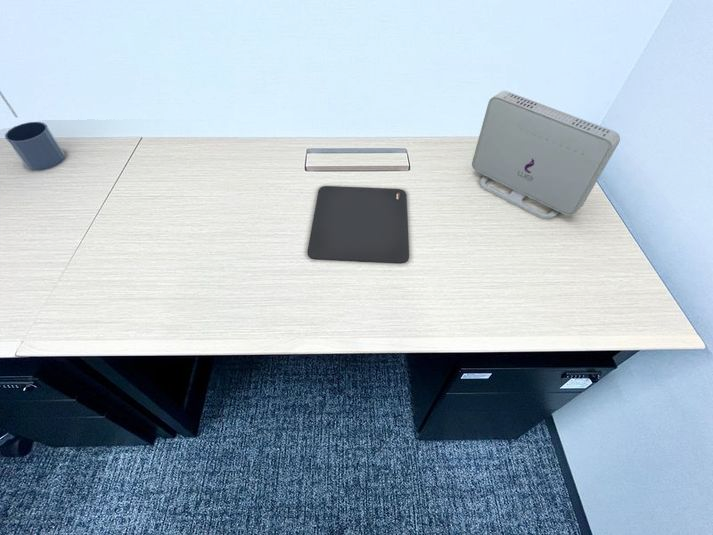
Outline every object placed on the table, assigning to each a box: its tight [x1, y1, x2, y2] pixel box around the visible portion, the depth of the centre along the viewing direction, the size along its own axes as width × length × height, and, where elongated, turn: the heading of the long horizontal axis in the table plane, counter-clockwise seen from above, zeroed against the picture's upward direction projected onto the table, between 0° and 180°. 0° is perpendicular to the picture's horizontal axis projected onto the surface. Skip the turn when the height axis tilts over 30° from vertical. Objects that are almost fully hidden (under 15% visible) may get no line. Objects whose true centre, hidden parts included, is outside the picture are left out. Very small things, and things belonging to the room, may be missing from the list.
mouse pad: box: [307, 185, 410, 264], centre depth 86 cm, size 23×20×1 cm
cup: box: [4, 121, 66, 172], centre depth 96 cm, size 9×9×8 cm
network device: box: [471, 90, 621, 220], centre depth 85 cm, size 26×9×20 cm, turn 47°
